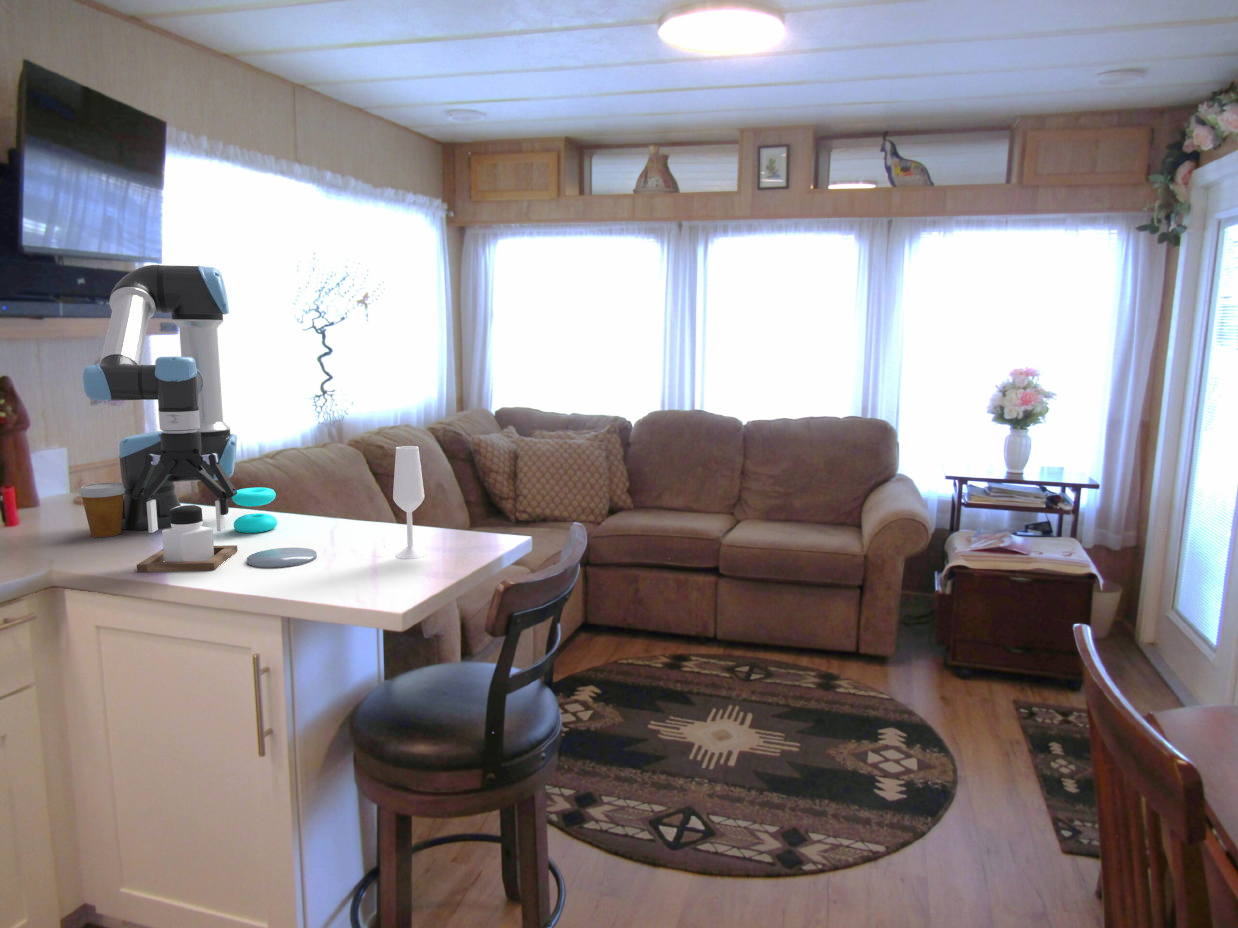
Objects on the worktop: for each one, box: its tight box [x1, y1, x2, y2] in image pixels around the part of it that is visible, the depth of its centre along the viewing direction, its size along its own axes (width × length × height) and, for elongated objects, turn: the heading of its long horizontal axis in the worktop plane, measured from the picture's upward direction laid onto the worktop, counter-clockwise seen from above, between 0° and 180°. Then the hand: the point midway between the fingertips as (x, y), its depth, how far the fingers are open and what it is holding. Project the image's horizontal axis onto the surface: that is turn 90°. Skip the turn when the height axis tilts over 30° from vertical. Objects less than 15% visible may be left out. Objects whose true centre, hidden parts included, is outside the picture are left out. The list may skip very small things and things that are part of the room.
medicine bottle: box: [161, 504, 215, 562], centre depth 179 cm, size 7×7×12 cm
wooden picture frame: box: [135, 544, 238, 573], centre depth 180 cm, size 15×15×2 cm
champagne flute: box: [392, 445, 427, 560], centre depth 185 cm, size 7×7×24 cm
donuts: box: [231, 487, 278, 534], centre depth 209 cm, size 10×10×10 cm
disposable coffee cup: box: [78, 482, 126, 538], centre depth 203 cm, size 10×10×12 cm
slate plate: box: [246, 547, 318, 568], centre depth 182 cm, size 14×14×1 cm
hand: (187, 530), depth 179 cm, fingers open, 13 cm apart
